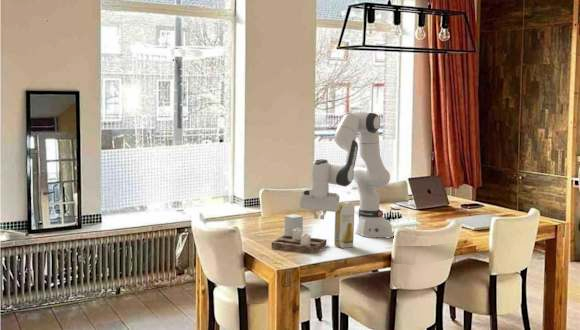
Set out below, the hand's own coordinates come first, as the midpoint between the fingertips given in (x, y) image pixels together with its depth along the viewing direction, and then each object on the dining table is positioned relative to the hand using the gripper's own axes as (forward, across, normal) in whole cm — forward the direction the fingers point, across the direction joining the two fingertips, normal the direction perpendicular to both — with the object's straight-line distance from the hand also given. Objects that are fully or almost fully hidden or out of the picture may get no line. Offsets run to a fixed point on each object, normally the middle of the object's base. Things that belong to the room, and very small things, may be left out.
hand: (319, 218), depth 326 cm
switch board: (+17, +12, -4) cm, 21 cm away
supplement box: (+17, +21, -19) cm, 33 cm away
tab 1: (+16, +15, -9) cm, 24 cm away
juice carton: (+17, -9, -16) cm, 25 cm away
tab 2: (+16, +7, 0) cm, 17 cm away
